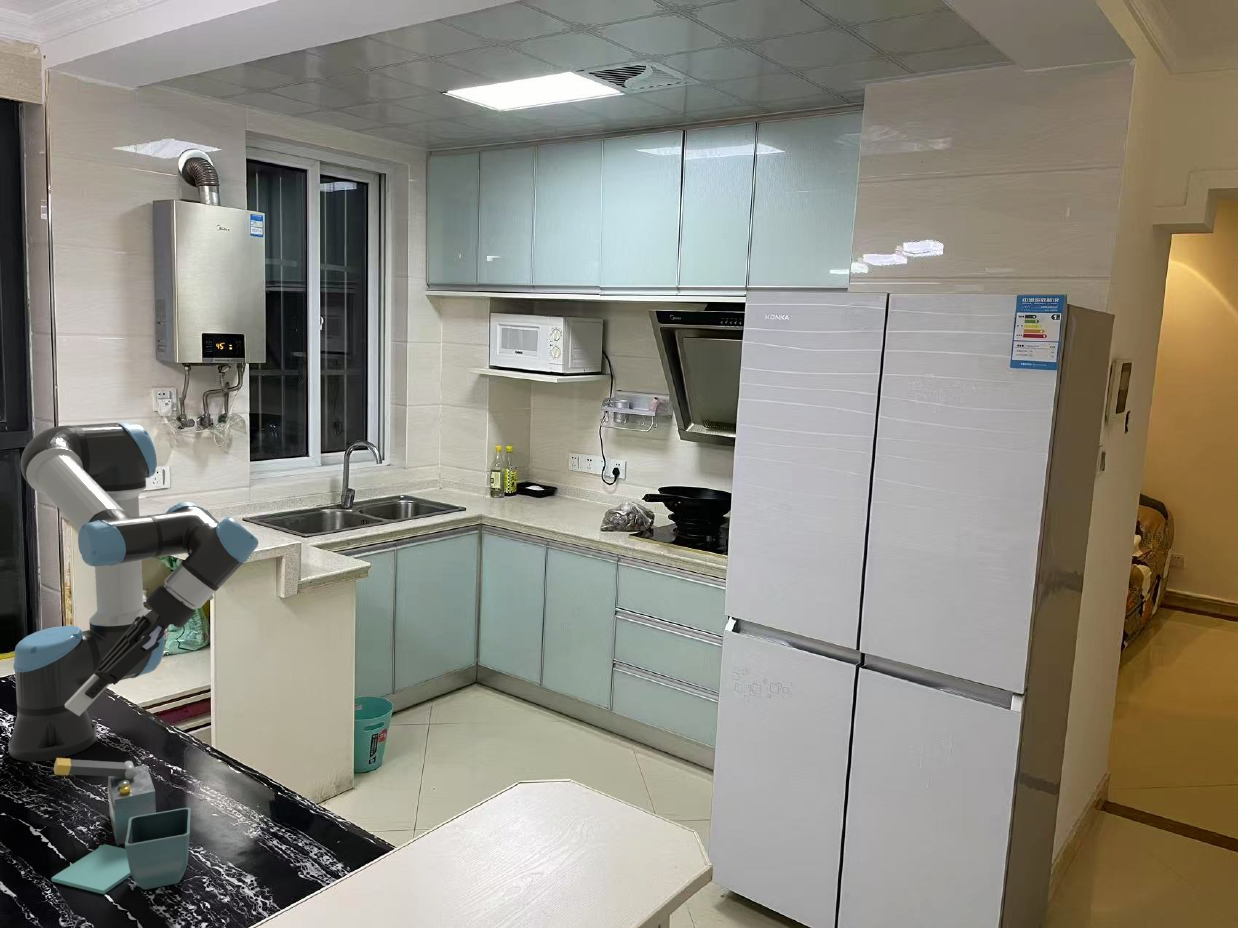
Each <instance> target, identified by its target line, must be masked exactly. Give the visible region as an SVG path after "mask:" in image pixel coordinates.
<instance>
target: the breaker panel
mask: <svg viewBox="0 0 1238 928" xmlns="http://www.w3.org/2000/svg"><path fill="white" fill-rule="evenodd" d="M134 769H135V773H136V775H135V777H134V778H133V779H127V778H126V777H125V775H124V777H112V776H107V779H108V781H107V782H108V784H107V785H106V786H107V798H108V803H109V804H108V805H109V806H108V807H109V808H108V809H109V817H110V821H111V822H110V823H111V827H112V831H113V836H114V840H115V844H116V845H115V846H119V845H123V844H124V845H125V841H126V836H127V830H128V823H129V818H131V817H134V816H140V815H147V814H153V813H157V810H156V809H157V808H156V806H157V805H156V790H155V787H154V783H153V780H152V777H151V775H150V772H149V768H148V765H147V764H143V765H138V766H134Z"/></svg>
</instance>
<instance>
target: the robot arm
mask: <svg viewBox="0 0 1238 928" xmlns="http://www.w3.org/2000/svg"><path fill="white" fill-rule="evenodd" d="M157 461H158V460H157V453H156V448H155V446H154V443H153V439H152V438H151V436H150V434H149V433H148V432H147V430H146V429H145V428H144V427H143V426H141V425H140V424H138V423H133V422H132V423H131V422H109V423H108V422H107V423H93V424H91V423H90V424H76V425H69V424H68V425H67V424H66V425H59V426H55V427H50V428H48V429H45V430H43V431H42V432H40V433H38V434H37V435H35V436H34V437H33V438H32V439H31V440H30V441H29V442H28V444H26V446H25V448H24V449H23V451H22V454H21V458H20V471H21V474H22V476H23V478H24V480H25V481H26V483H27V484H28V485H29V486H30V487H31V488H32V489H33V490H34V491H35V492H36V493H39V494H42V495H46V496H47V497H48V498H49V499H50V500H51V501H52V503H53V504H54V506H56V507H57V508H58V510H59V511H60V512H62V513H63V515H64V516H65V517H66V518H67V519H68V520H69V521H70V523H72V525H73V526H74V527H75V528H76V529H77V530H78V536H77V543H78V544H77V546H78V550H79V554H80V555H81V558H82V561H83V562H84V563H85V564H86V565H87V566H90V567H94V574H95V592H96V593H95V595H96V609H97V610H96V612H95V613H93V615H92V616H91V617H90V618H89V620H88V621H89V622H88V623H89V629H88V630H84V631H82V629H81V628H80V627H78V626H76V625H63V626H53V627H49V628H44V629H41V630H38V631H35V632H33V633H31V634H29V635H26V636H25V637H23V638H22V640H20V641H19V642H18V643H17V644H16V645H15V649H14V656H13V657H14V660H13V670H14V675H15V676H14V677H15V680H14V681H15V692H16V695H15V696H16V706H17V707H16V709H17V710H16V711H17V715H16V719H15V721H14V725H13V731H12V734H11V736H10V737H9V739H8V752H9V753H8V754H9V756H10V757H11V758H13V759H15V760H17V761H18V760H19V761H21V762H22V761H24V762H43V761H44V762H46V761H53V760H56V758H66V757H70V756H72V755H76V754H78V753H80V752H82V751H84V750H87V749H88V748H90V747H91V746H92V745H93V744H94V743H95V742H96V740H97V738H98V737H97V726H96V724H95V722H94V721H93V718H92V715H91V713H90V710H89V706H91V705H92V704H93V702H94V701H95V700H96V699H98V697H99V696H100V695H101V694H102V693H103V692H104V691H105V690H106V689H107V688H108V687H109V685H112V684H113V685H114V686H115V685H117V684H118V683H119V682H120V681H123V680H124V681H125V680H128V679H135V678H138V677H141V676H142V675H146V674H149V673H152V672H154V671H155V670H156V669H157V667H158V666H160V665H161V664H160V663H161V661H162V660H163V657H164V651H165V634H166V633H165V632H166V630H167V629H168V627H169V626H170V625H173V626H174V627H176V628H178V629H179V628H180V629H182V628H183V627H185V625H186V624H187V623H188V622H189V621H190V620H191V619H192V618H193V617H194V615H196V609H201V608H202V607H203V606H204V605H205V603H207V601H212V600H213V599H214V594H216V592H217V591H218V590H219V588H221V587H222V586H223V585H224V584H225V583H226V582H227V581H228V579H229V578H231V576H233V574H234V573H236V572H237V571H238V569H239V568H240V567H241V566H242V565H244V563H246V562H247V560H248V559H249V557H250V556H251V555H252V554H253V552H254V551H255V550H256V549H257V548H258V546H259V539H258V538H257V537H256V536H255V535H254V534H253V533H251V532H250V531H249V530H247V529H246V528H245V527H244V526H242V524H240V523H239V522H238V521H236V520H235V519H234V518H233V517H230V516H227V517H225V518H223V520H221V521H219V520H218V519H216V518H215V517H214V516H213V515H212V513H210V511H208V510H207V509H205V508H204V507H202V506H200V505H198V504H196V503H194V502H191V501H183V502H179V503H176V504H175V505H173V506H172V507H170V508H168V510H166V512H164V513H157V514H148V515H140V502H139V500H140V499H139V496H140V494H141V493H142V492H143V491H144V490H145V489H146V488H147V479H150V478H151V477H152V476H154V475H155V474H156V470H157V467H158V466H157V465H158V462H157ZM183 554H187V555H188V556H187V557H186V558H185V559H184V560H183V561H182V562H181V563H179V564H178V566H177V567H175V568H174V570H173V571H172V572H170V574H169V575H168V576H167V577H166V578H165V579H164V585H163V584H162V585H158V587H156V588H155V590H153V592H152V593H151V594H150V595H148V597H147V598H146V599H145V602H146V604H147V606H148V607H149V608H150V609H151V610H149V609H148V608H147V607H145V606H144V590H143V589H144V586H143V571H142V570H143V566H142V564H143V563H142V561H144V560H149V559H157V558H162V557H163V558H164V557H169V556H177V555H183Z"/></svg>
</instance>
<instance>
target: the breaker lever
mask: <svg viewBox="0 0 1238 928" xmlns="http://www.w3.org/2000/svg"><path fill="white" fill-rule="evenodd" d="M134 767H135V765H134V763H133V761H132V760H126V761H125V762H123V761H122V762H118V761H102V760H101V761H100V760H86V759H85V760H84V759H83V760H82V759H71V758H66V757H63V758H56V759H55V762H54V766H53V772H54V775H57V776H69V775H75V776H92V777H95V776H96V777H108V776H112V777H124V775H125V777H126V778H127V779H133V778H134V777H135V775H136V773H135V769H134Z"/></svg>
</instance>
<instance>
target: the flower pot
mask: <svg viewBox="0 0 1238 928" xmlns="http://www.w3.org/2000/svg"><path fill="white" fill-rule="evenodd" d="M191 812H192V809H191V807H182V808H176V809H171V810H166V811H165V810H163V811H159V812H156V813H153V814H147V815H140V816H134V817H131V818H129V823H128V830H127V836H126V841H125V843H124V849H126V854H127V859H128V864H129V869H130V873H131V877H132V879H133V881H134V882H135V883H136V885H138V886H139V887H140V888H141V890H150V889H155V888H160V887H165V886H170V885H176V884H178V883H179V882H180V881H181V880H182V878H183V877H184V875H185V873H186V869H187V866H188V863H189V862H188V861H189V855H190V853H189V850H190V834H191V814H192V813H191Z"/></svg>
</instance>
